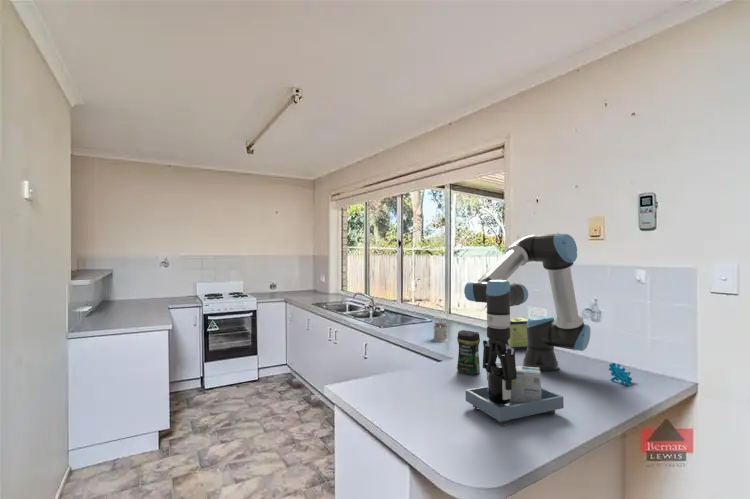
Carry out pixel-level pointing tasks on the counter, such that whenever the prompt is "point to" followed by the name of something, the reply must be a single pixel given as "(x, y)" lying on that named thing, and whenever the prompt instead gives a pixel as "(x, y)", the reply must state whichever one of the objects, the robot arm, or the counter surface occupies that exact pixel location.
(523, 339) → the protein box
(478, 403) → the tote
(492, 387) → the supplement bottle
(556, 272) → the robot arm
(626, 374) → the gear
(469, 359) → the coffee jar
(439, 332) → the french press
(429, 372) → the counter surface
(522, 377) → the light bulb box
